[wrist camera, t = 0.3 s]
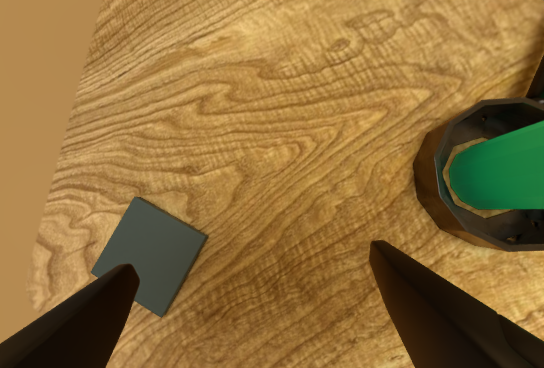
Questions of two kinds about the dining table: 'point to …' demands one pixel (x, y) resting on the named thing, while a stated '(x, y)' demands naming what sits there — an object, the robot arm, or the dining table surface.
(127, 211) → the coaster
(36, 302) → the dining table surface
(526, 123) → the pan
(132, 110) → the dining table surface
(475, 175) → the candle
